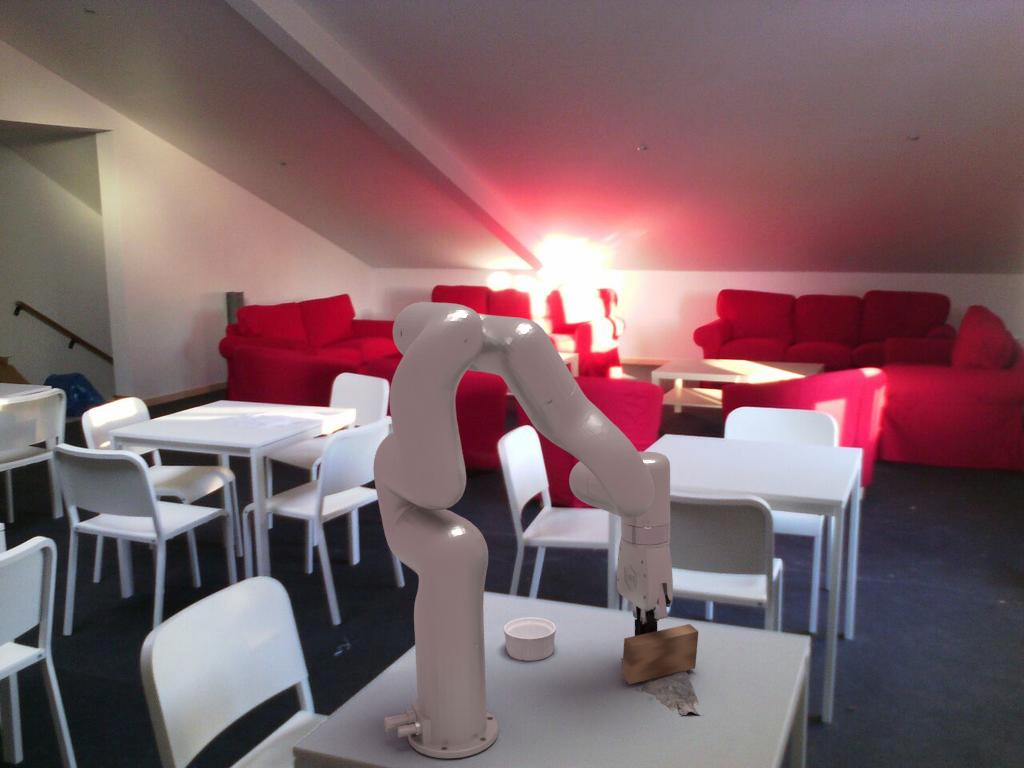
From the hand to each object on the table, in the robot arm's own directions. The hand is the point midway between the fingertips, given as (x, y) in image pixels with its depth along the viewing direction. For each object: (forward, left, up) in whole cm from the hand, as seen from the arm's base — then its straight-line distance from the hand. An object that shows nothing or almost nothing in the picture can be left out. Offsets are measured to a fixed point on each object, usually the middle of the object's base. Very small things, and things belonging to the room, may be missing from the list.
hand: (646, 643), depth 139 cm
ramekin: (-14, +14, -5) cm, 21 cm away
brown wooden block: (+1, -3, -4) cm, 5 cm away
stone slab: (-1, -5, -6) cm, 8 cm away
